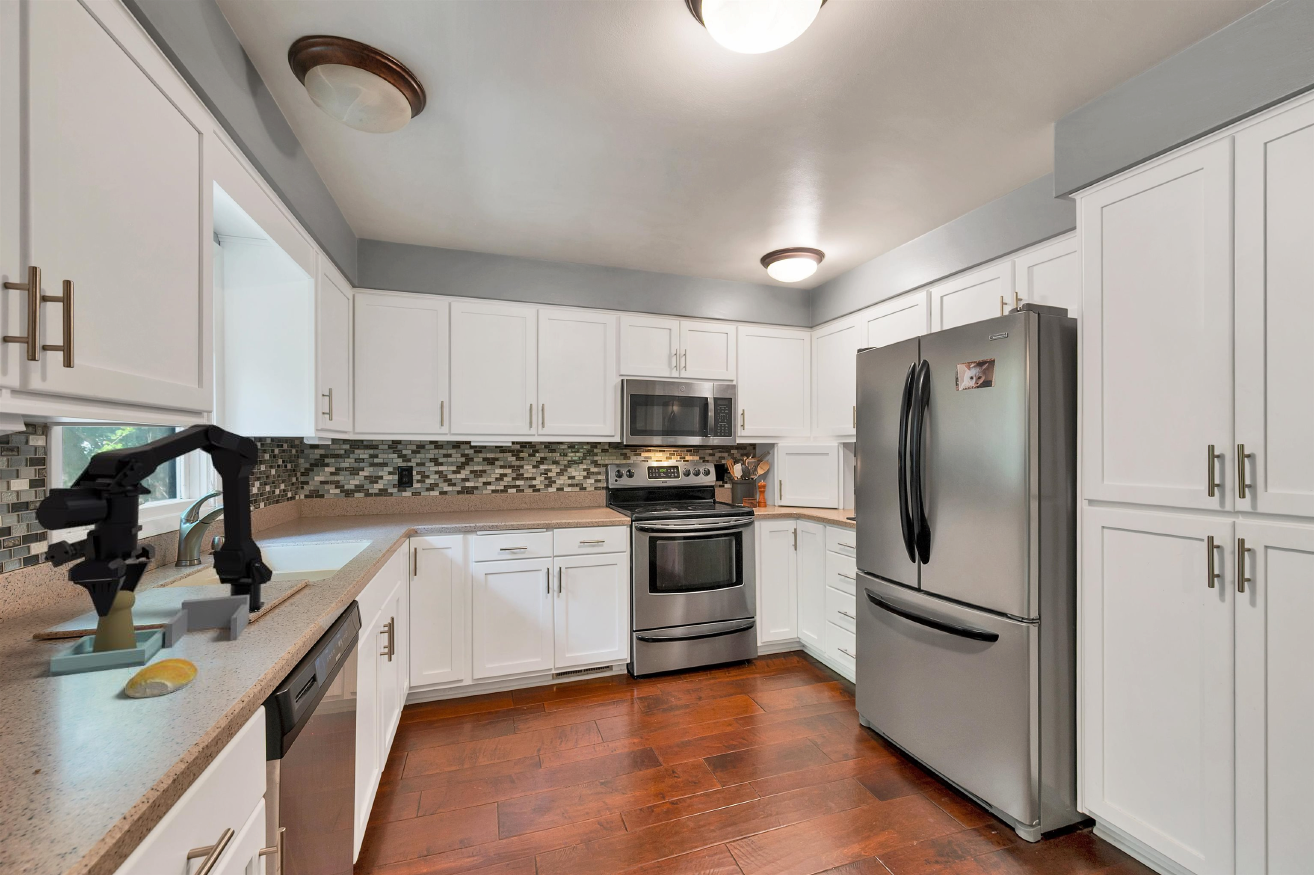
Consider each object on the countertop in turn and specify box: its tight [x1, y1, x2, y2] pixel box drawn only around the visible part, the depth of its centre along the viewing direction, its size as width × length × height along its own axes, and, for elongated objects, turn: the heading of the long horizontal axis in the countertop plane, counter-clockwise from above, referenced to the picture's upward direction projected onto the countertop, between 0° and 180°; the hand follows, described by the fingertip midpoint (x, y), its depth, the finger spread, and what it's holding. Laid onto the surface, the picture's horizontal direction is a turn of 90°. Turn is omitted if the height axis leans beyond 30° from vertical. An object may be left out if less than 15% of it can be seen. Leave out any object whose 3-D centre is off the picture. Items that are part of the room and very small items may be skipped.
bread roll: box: [124, 658, 198, 699], centre depth 91 cm, size 8×9×4 cm
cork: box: [92, 591, 137, 653], centre depth 101 cm, size 6×6×11 cm
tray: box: [50, 627, 166, 677], centre depth 101 cm, size 12×12×3 cm
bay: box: [164, 595, 250, 649], centre depth 114 cm, size 12×11×6 cm
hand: (114, 609), depth 101 cm, fingers open, 9 cm apart
